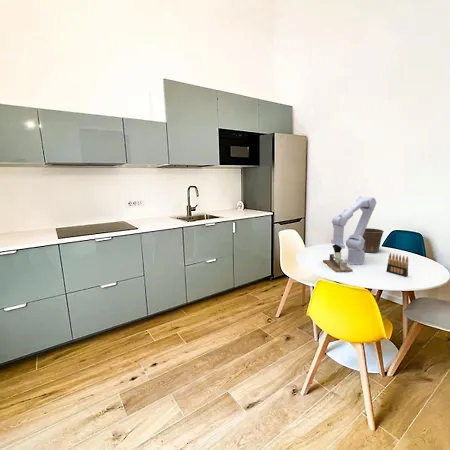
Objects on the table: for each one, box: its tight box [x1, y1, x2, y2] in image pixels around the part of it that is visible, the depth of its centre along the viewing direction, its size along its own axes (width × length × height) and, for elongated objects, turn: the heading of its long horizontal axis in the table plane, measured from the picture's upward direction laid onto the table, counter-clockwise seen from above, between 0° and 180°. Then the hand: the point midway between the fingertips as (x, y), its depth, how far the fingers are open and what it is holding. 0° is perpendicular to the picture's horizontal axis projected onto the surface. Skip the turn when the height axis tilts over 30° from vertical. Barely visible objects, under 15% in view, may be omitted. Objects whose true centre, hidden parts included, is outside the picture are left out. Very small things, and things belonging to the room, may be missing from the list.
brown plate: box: [322, 253, 354, 273], centre depth 166 cm, size 10×20×6 cm, turn 2°
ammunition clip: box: [385, 252, 409, 278], centre depth 150 cm, size 11×2×12 cm, turn 33°
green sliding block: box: [334, 251, 344, 264], centre depth 163 cm, size 4×4×6 cm
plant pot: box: [362, 227, 384, 254], centre depth 195 cm, size 16×16×16 cm
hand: (337, 256), depth 166 cm, fingers closed
